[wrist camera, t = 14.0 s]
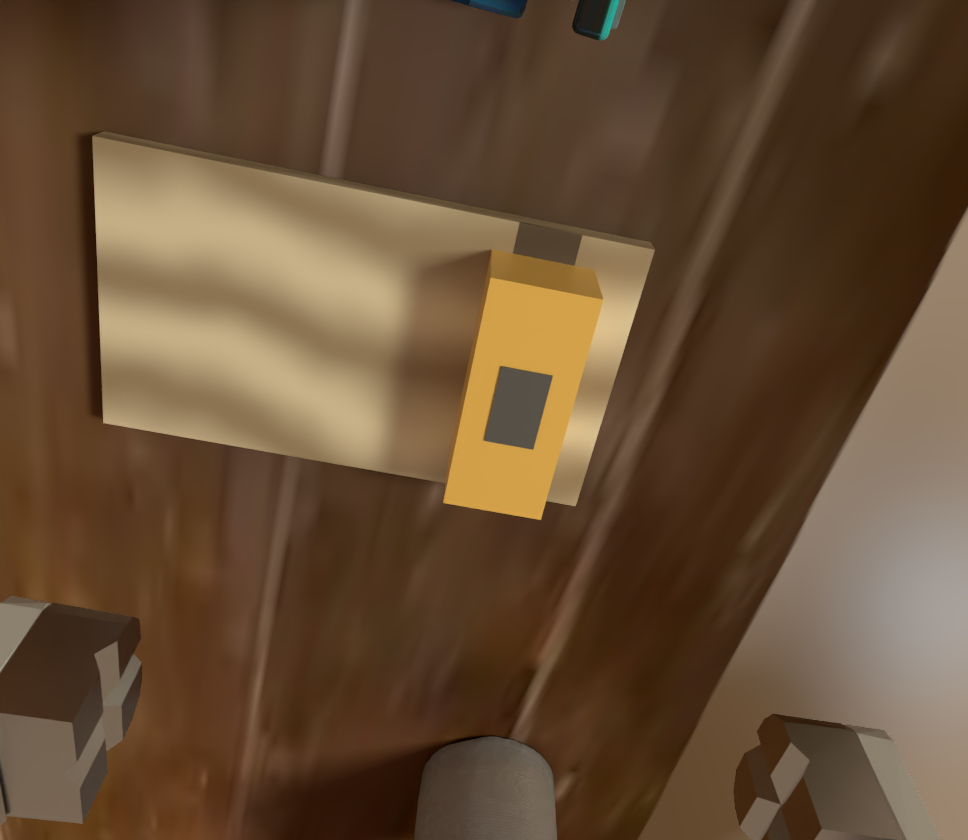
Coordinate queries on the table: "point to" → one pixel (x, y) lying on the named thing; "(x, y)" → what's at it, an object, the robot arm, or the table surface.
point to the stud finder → (521, 383)
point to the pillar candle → (486, 793)
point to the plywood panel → (318, 309)
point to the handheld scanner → (592, 17)
